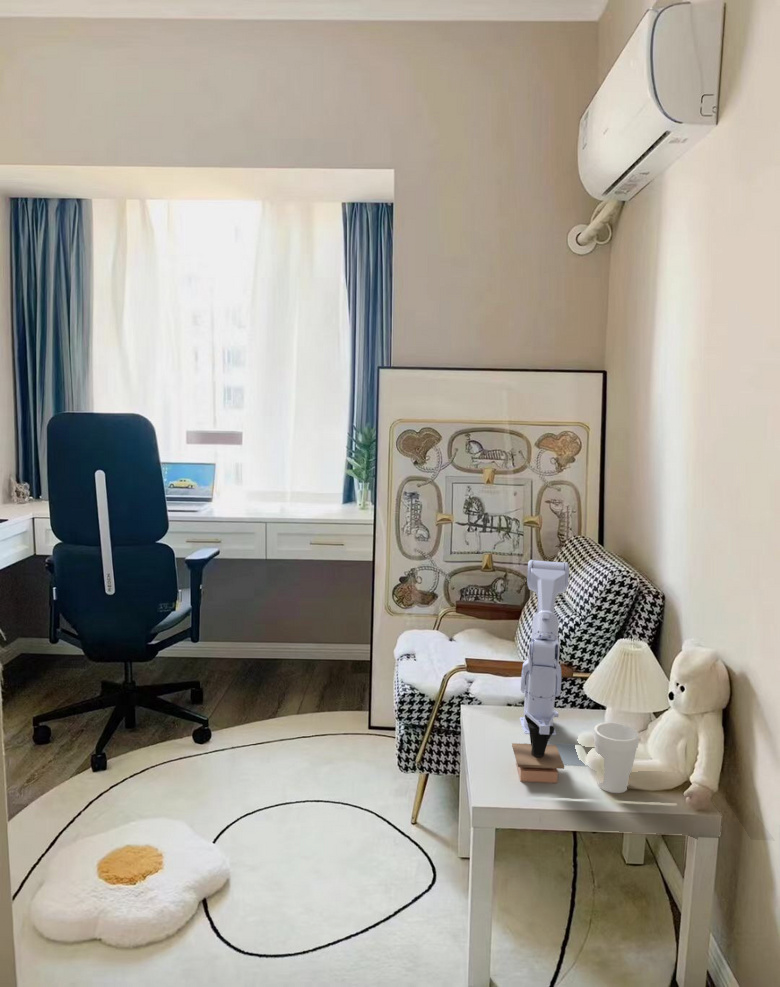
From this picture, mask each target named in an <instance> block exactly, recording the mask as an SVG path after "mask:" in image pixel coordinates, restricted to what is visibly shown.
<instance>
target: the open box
mask: <svg viewBox="0 0 780 987" xmlns="http://www.w3.org/2000/svg"><path fill="white" fill-rule="evenodd" d="M515 765H516V770H517V773H518V777H519V781H520V782H522V783H523V782H524V783H547V784H549V783H550V784H558V776H559V775H558V774H559V773H558V772H559V771H558V769H556V768H531V767H518V765H517V762H516V761H515Z"/></svg>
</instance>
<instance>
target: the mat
mask: <svg viewBox="0 0 780 987" xmlns="http://www.w3.org/2000/svg"><path fill="white" fill-rule="evenodd" d="M575 744H576V743H563V742H562V743H561V742H560V743H559V742H548V743H547V745H556V746H557V749H558V751H559V754H560V756H561V759H562V761H563V764H564V766H573V767H575V766H576V767H586V766H585V764H584V763H583V762H582V761H581V760H579V758H578V755H577V752H576V749H575Z"/></svg>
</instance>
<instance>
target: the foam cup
mask: <svg viewBox="0 0 780 987" xmlns="http://www.w3.org/2000/svg"><path fill="white" fill-rule="evenodd" d="M639 739H640V733H639V731H637V729H636V728H634V727H632V726H630V725H628V724H624V723H620V722H613V721H612V722H611V721H606V722H605V721H604V722H599V723H598V724H596V725H594V728H593V741H594V742H593V743H594V752H595V751H596V752H597V753H598V754H600V755H601V756H602V757H603V758H604V768H605V769H604V771H605V773H604V779H603V780H604V781H603V783H599V784H598V783H597V782H596V785H597V786H598V787H599V789H601V790H603V791H605V792H608V793H610V794H611V793H612V794H621V793H625V792H626V791H628V789H627V783H628V778H629V775H630V773H631V774H632V771H633V767H634V761H635V757H636V754H637V753H636V752H637V748H638V747H639ZM630 776H631V775H630Z"/></svg>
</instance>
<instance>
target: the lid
mask: <svg viewBox="0 0 780 987" xmlns="http://www.w3.org/2000/svg"><path fill="white" fill-rule="evenodd" d="M511 747H512V750H513V755H514V758H515V763H516V762H517V765H518V767H531V768H556V769H557V770H558V769H559V770H560V769H561V770H562V769H563V770H564V769H565V765H564V764H563V761H562V759H561V756H560V754H559V751H558V749H557V746H556V745H547V746H546V749H545V753H544V755H543V756H541V755H534V752H533V746H531V743H517V742H516V743H515V742H513V743H511Z"/></svg>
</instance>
